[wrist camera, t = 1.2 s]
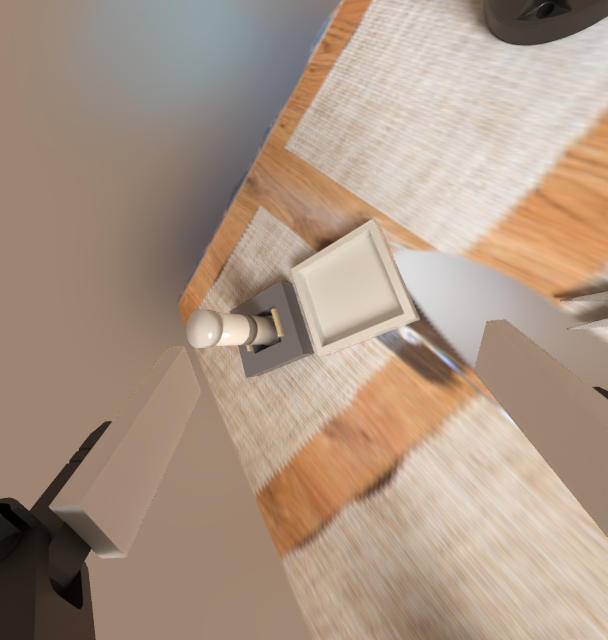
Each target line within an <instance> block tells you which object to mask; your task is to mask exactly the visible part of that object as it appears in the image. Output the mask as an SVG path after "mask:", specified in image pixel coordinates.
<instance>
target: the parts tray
mask: <svg viewBox="0 0 608 640" xmlns="http://www.w3.org/2000/svg"><path fill="white" fill-rule="evenodd" d="M291 272H292V275H293V278H294V281H295V285H296V288H297V291H298V294H299V297H300V300H301V303H302V306H303V310H304V313H305V316H306V319H307V322H308V325H309V328H310V331H311V335H312V338H313V341H314V344H315V347H316V350H317V353H318V356H326V355H329V354H332V353H335V352H337V351H340V350H342V349H345V348H347V347H350V346H353V345H355V344H358V343H360V342H363V341H365V340H368V339H371V338H373V337H376V336H378V335H381V334H383V333H386V332H389V331H391V330H394V329H396V328H399V327H401V326H404V325H407V324H409V323H412V322H414V321H417V320H419V319H420V318H419V316H418V313H417V311H416V309H415V306H414V304H413V302H412V299H411V297H410V295H409V292H408V290H407V288H406V285H405V283H404V281H403V279H402V276H401V274H400V272H399V269H398V267H397V265H396V262H395V260H394V258H393V255H392V253H391V251H390V248H389V246H388V244H387V242H386V239H385V237H384V235H383V232H382V230H381V228H380V225H379V224H378V223H377V222H376V221H375V220H374V219H371V220H370V221H368V222H366V223H365V224H363V225H362V226H360V227H358V228H357V229H355V230H353V231H352V232H350V233H349V234H347V235H345V236H344V237H342V238H341V239H339V240H337V241H336V242H334V243H332V244H331V245H329V246H328V247H326V248H324V249H323V250H321V251H320V252H318V253H316V254H315V255H313V256H311V257H310V258H308V259H307V260H305V261H303V262H302V263H300V264H298V265H297V266H295V267H294V268H292V269H291Z"/></svg>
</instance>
